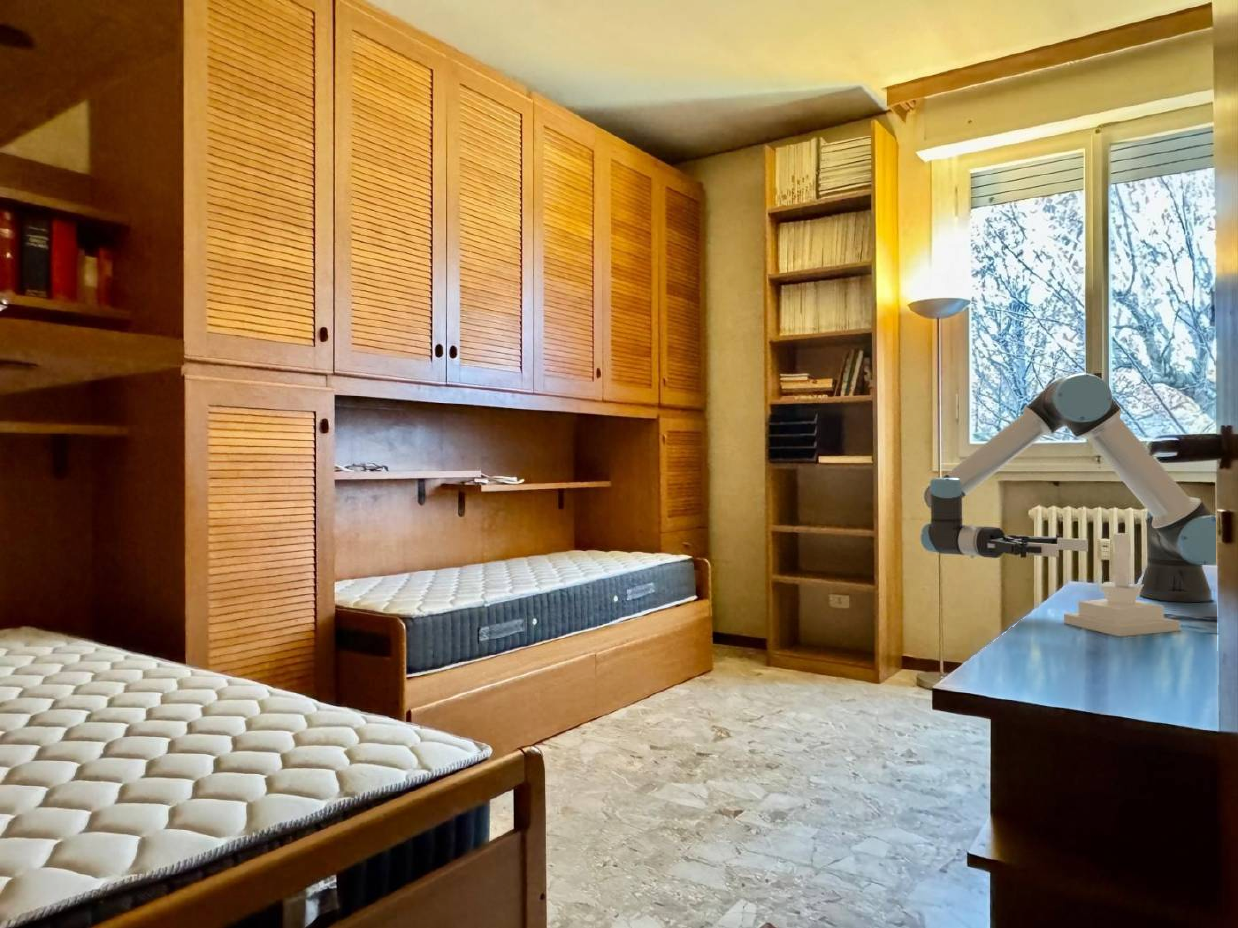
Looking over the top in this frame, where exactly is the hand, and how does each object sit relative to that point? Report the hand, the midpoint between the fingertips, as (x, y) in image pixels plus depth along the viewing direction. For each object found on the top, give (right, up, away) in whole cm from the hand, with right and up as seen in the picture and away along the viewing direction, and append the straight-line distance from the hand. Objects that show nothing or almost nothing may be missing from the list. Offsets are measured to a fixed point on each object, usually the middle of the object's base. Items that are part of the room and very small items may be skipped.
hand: (1073, 548), depth 180 cm
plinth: (+6, -16, -8) cm, 19 cm away
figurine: (+6, -11, -7) cm, 15 cm away
